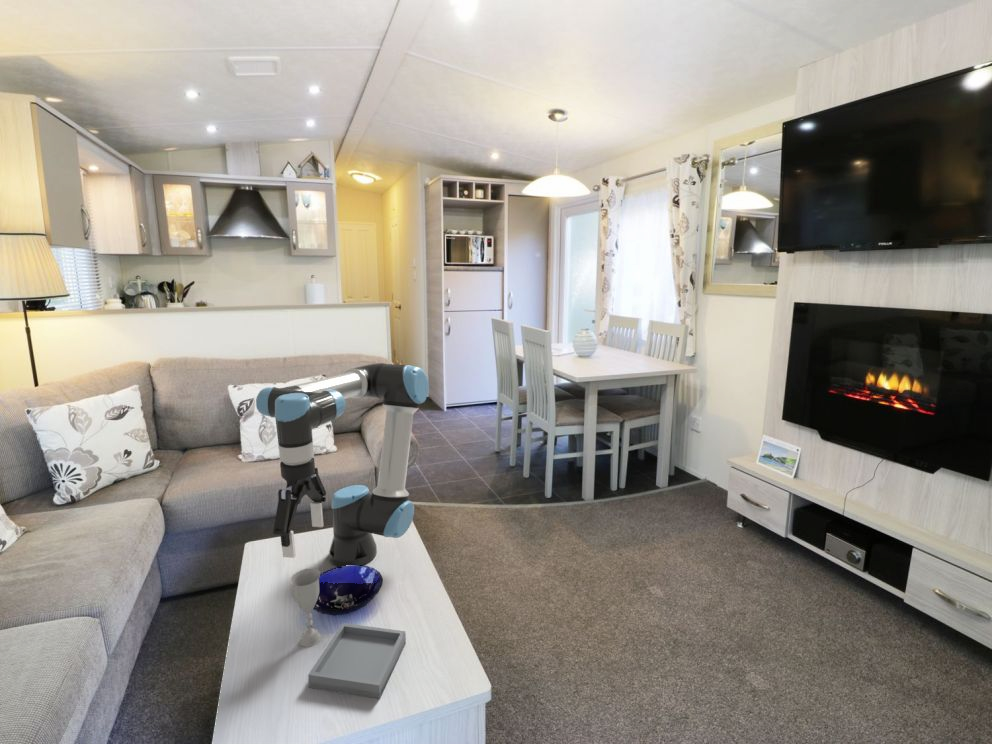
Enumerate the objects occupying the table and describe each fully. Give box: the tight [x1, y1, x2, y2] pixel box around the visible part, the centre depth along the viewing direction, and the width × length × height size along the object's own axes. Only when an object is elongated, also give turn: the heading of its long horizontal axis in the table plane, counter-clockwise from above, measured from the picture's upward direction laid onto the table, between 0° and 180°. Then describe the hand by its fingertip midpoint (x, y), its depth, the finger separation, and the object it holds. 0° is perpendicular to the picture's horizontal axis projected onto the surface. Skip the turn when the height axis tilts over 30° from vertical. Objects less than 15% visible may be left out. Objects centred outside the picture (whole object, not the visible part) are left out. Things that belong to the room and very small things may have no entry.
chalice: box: [290, 567, 322, 648], centre depth 127 cm, size 7×7×18 cm
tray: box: [307, 622, 407, 700], centre depth 121 cm, size 17×17×4 cm
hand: (304, 540), depth 123 cm, fingers open, 13 cm apart
